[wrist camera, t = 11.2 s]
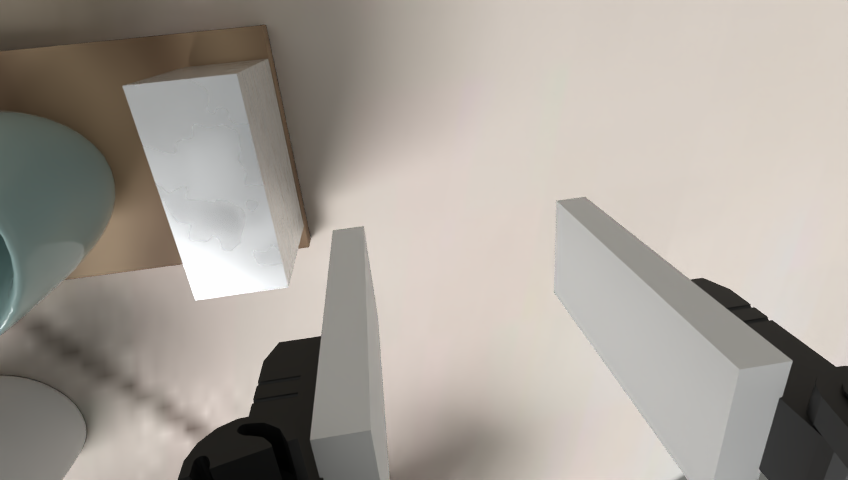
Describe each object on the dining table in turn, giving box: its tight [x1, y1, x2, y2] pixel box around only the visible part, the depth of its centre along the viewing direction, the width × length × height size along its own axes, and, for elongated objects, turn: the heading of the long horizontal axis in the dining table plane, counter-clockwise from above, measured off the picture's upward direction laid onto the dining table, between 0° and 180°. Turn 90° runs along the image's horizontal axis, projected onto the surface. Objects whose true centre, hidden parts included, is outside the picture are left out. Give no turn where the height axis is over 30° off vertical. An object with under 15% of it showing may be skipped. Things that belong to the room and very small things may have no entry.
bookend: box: [122, 59, 304, 300], centre depth 23 cm, size 4×9×7 cm, turn 5°
